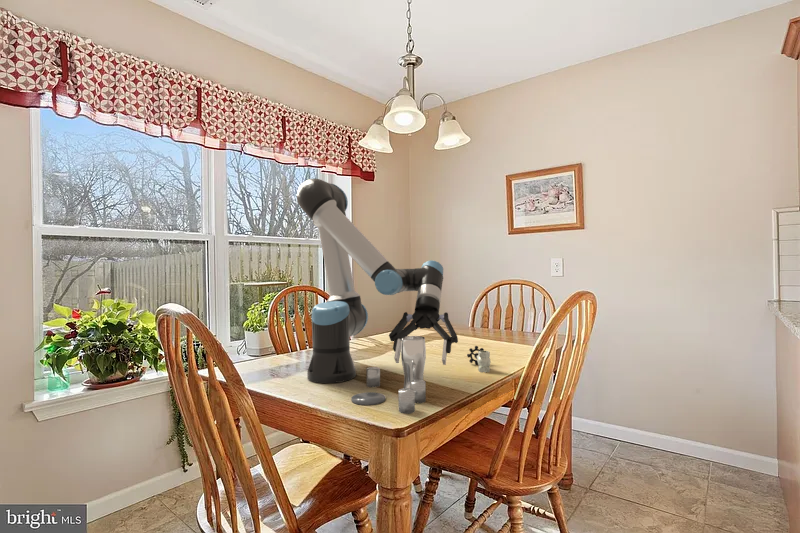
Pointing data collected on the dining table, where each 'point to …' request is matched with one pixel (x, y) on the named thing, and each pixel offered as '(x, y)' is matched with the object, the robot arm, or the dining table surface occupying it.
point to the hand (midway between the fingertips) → (419, 361)
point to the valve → (480, 359)
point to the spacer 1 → (373, 376)
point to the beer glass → (413, 358)
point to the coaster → (368, 398)
